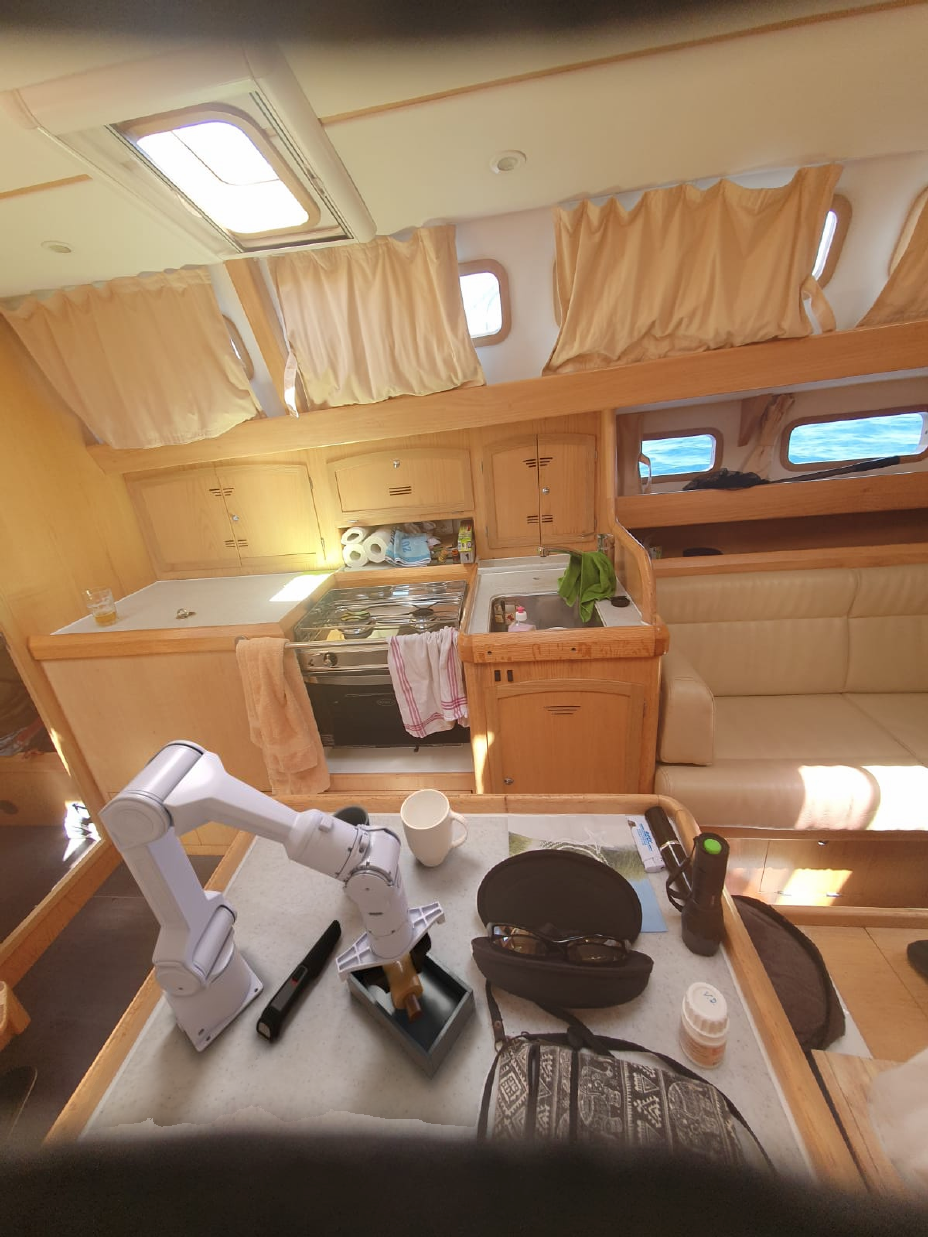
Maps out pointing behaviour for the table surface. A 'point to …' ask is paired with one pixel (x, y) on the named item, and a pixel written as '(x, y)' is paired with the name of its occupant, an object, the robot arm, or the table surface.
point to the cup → (353, 815)
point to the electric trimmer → (297, 983)
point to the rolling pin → (405, 986)
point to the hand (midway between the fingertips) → (401, 975)
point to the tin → (441, 1012)
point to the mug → (430, 826)
